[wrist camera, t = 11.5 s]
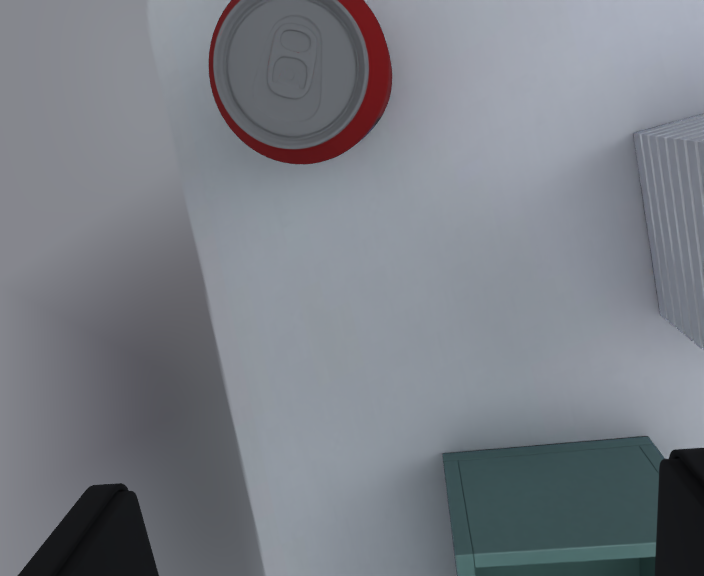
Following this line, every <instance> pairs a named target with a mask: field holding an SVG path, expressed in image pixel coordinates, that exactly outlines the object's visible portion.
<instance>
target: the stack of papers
mask: <svg viewBox="0 0 704 576" xmlns="http://www.w3.org/2000/svg"><path fill="white" fill-rule="evenodd" d="M633 136H634V143H635V149H636V156H637V163H638V169H639V176H640V182H641V189H642V196H643V202H644V209H645V216H646V222H647V229H648V236H649V242H650V249H651V256H652V262H653V269H654V276H655V282H656V289H657V296H658V302H659V309H660V315H661V316H662V317H663V318H664V319H665V320H667V321H668V320H669V323H670V324H672V325H673V326H674V327H677V329H678V330H679V331H680V332H681V333H683V334H684V333H685V336H686V337H688V338H689V339H690V340H691V341H694V343H695V344H696V345H697V346H699V347H700V348H703V349H704V113H703V114H700V115H696V116H693V117H689V118H685V119H682V120H678V121H675V122H671V123H668V124H664V125H661V126H657V127H653V128H650V129H646V130H643V131H639V132H636V133H633Z"/></svg>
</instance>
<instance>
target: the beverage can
mask: <svg viewBox="0 0 704 576" xmlns="http://www.w3.org/2000/svg"><path fill="white" fill-rule="evenodd" d="M209 77H210V84H211V88H212V93H213V96H214V99H215V102H216V104H217V106H218V109H219V111H220V113H221V115H222V116H223V118H224V120H225V121H226V123H227V124H228V126H229V127H230V128H231V130H232V131H233V132H234V133H235V134H236V135H237V136H238V137H239V138H240V139H241V140H242V141H243V142H244V143H245V144H246V145H248V146H249V147H250V148H252V149H253V150H255V151H256V152H258V153H260V154H262V155H264V156H266V157H268V158H271V159H273V160H276V161H280V162H284V163H290V164H313V163H318V162H322V161H326V160H329V159H332V158H334V157H336V156H338V155H340V154H342V153H344V152H346V151H347V150H349V149H350V148H351V147H353V146H354V145H355V144H357V143H358V142H359V141H360V140H362V139H363V138H364V137H365V136H366V135H367V134H368V133H369V132H370V131H371V130H372V129H373V127H374V126H375V125H376V124H377V122H378V121H379V119H380V118H381V116H382V115H383V113H384V111H385V109H386V106H387V104H388V101H389V97H390V93H391V87H392V68H391V61H390V55H389V51H388V47H387V44H386V41H385V38H384V35H383V32H382V29H381V27H380V25H379V23H378V21H377V19H376V17H375V15H374V14H373V12H372V11H371V9H370V8H369V7H368V5H367V4H366V3H365V2H364V0H231V2H230V3H229V4H228V5H227V7H226V8H225V10H224V11H223V13H222V15H221V17H220V18H219V21H218V23H217V25H216V28H215V30H214V33H213V37H212V41H211V45H210V51H209Z"/></svg>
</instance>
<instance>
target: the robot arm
mask: <svg viewBox="0 0 704 576" xmlns="http://www.w3.org/2000/svg"><path fill="white" fill-rule="evenodd" d="M18 576H159V575H158V571H157V568H156V564H155V560H154V557H153V553H152V549H151V546H150V542H149V539H148V535H147V532H146V528H145V524H144V521H143V517H142V513H141V510H140V506H139V503H138V499H137V496H136V494H135V493H134V492H133V491H128V488H127V487H126V486H125V485H124V484H121V483H120V484H104V485H93V486H90V487H89V488H88V489H87V490H86V491H85V492H84V493H83V495H82V496H81V498H79V500H78V501H77V502H76V503H75V505H74V506H73V507H72V508H71V510H70V511H69V512H68V513H67V515H66V516H65V517H64V519H63V520H62V521H61V522H60V524H59V525H58V526H57V527H56V529H55V530H54V531H53V532H52V533H51V535H50V536H49V537H48V539H47V540H46V541H45V542H44V544H43V545H42V546H41V547H40V548H39V550H38V551H37V552H36V553H35V555H34V556H33V557H32V558H31V560H30V561H29V562H28V564H27V565H26V566H25V567H24V569H23V570H22V571H21V572H20V574H19V575H18ZM655 576H704V448H694V449H678V450H673V451H672V452H671V454H670V457H669V459H663V460H661V462H660V467H659V488H658V511H657V533H656V556H655Z"/></svg>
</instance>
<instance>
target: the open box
mask: <svg viewBox="0 0 704 576" xmlns="http://www.w3.org/2000/svg"><path fill="white" fill-rule="evenodd" d="M663 459H665V458H664V457H663V456H662V454H661V453H660V452H659V450H658V449H657V448H656V446H655V445H654V444H653V442H652V441H651V440H650V438H649V437H647V436H646V437H634V438H622V439H610V440H599V441H587V442H575V443H563V444H551V445H539V446H528V447H516V448H504V449H492V450H480V451H468V452H457V453H445V454H443V463H444V472H445V480H446V488H447V497H448V505H449V513H450V522H451V530H452V539H453V547H454V555H455V564H456V572H457V576H655V556H656V533H657V511H658V488H659V467H660V462H661V460H663Z"/></svg>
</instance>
